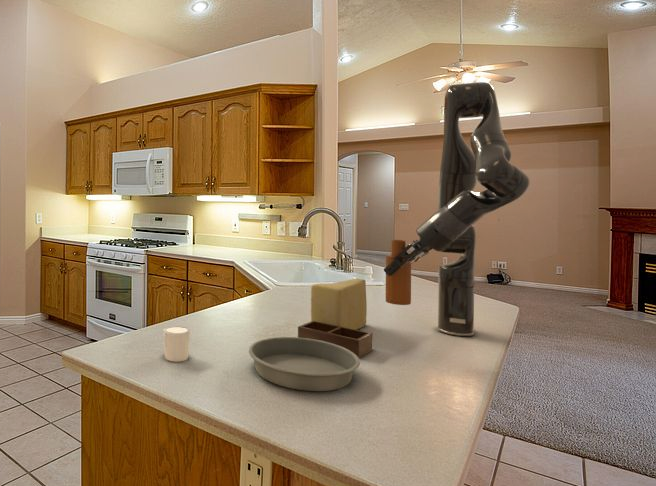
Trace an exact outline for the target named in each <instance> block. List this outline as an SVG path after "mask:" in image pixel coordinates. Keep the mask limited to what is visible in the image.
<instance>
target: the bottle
mask: <svg viewBox="0 0 656 486" xmlns="http://www.w3.org/2000/svg"><path fill="white" fill-rule="evenodd" d="M390 243H391V244H390V245H391V246H390V249H391V252H390V254H385V268H386V267H387V266H388V265H389V264H390V263H392V262H393V261H394V260H393V258H394V257H396V256H397V255H398V254H399V253H400V252H401V251H402V250H403V249H405V248H406V247H407V246H406V245H407V244H406V243H407V240H405V239H391V241H390ZM399 259H400V260H401V261H402V262H403V261H404V260H405V259H404V258H403V257H401V258H399ZM385 303H388V304H390V305H395V306H396V305H397V306H409V305H411V304H412V264H411V263H407V264H405V265H404V266H403V267H401V268H400V269H398V270H397V271H396V272H395V273H394V274H392V275H391V276H388V275H387V274H386V273H385Z"/></svg>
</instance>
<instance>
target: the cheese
mask: <svg viewBox="0 0 656 486" xmlns="http://www.w3.org/2000/svg"><path fill="white" fill-rule="evenodd" d="M310 291H311V292H310V320H311V321H317V322H322V323H327V324H331V325H336V326H341V327H346V328H350V329H355V330H359V329H361V328H364V327H365V326H366V325H367V315H368V314H367V312H368V310H367V309H368V308H367V307H368V303H367V285H366V280H365V278H352V279H348V280H343V281H339V282H331V283H314V284H312V285H311V288H310ZM311 321H310V322H311Z"/></svg>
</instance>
